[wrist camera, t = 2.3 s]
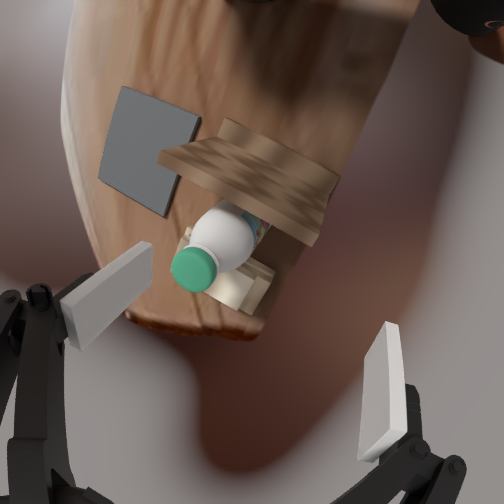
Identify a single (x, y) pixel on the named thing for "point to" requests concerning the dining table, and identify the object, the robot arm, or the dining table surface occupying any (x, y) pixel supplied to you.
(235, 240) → the milk bottle
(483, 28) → the coffee jar
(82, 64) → the dining table surface
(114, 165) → the charcoal mat
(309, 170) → the offcut rack
